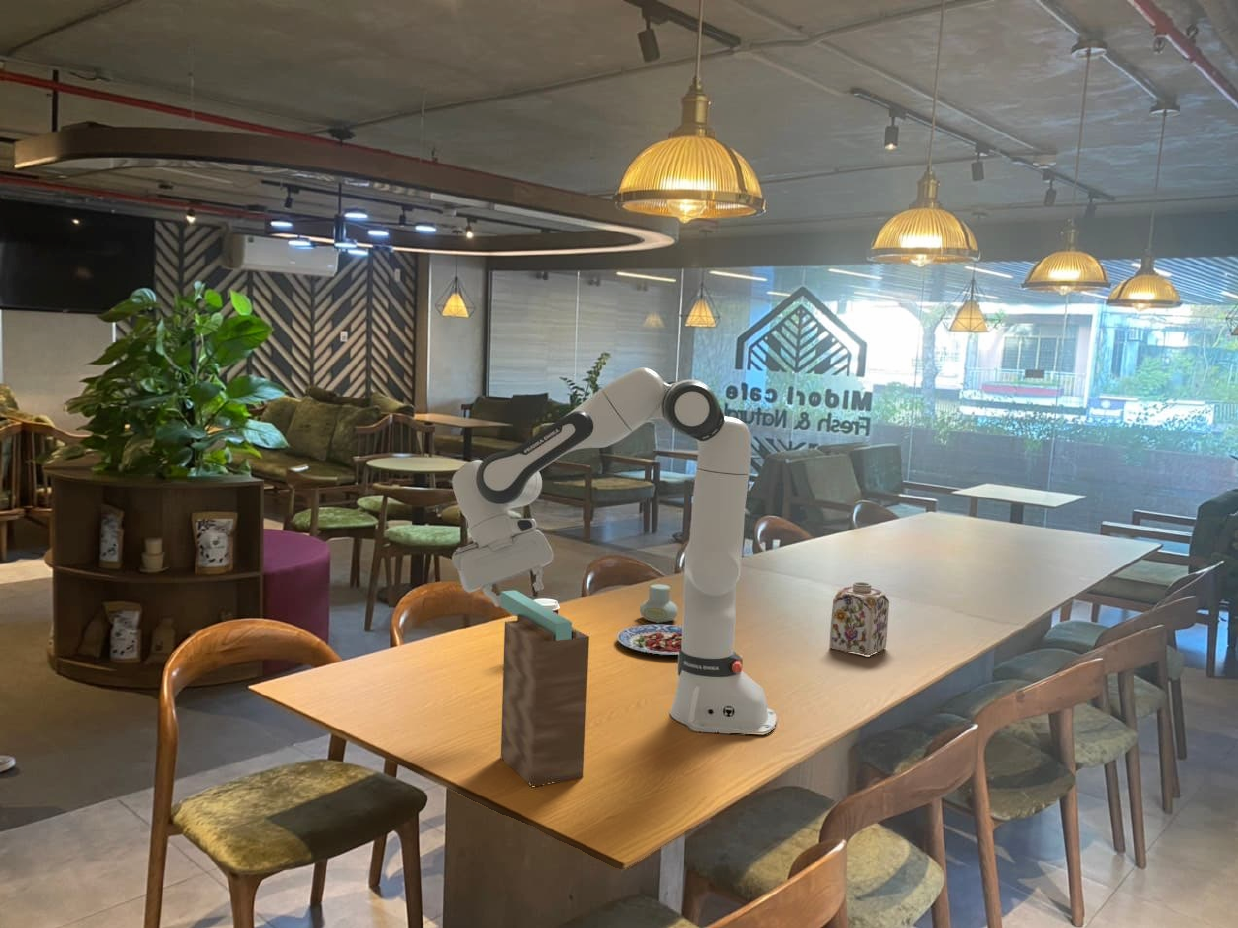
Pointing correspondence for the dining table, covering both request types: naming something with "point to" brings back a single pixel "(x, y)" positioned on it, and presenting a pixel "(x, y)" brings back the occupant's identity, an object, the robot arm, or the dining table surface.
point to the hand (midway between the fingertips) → (520, 597)
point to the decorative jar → (859, 620)
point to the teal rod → (537, 614)
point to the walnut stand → (543, 702)
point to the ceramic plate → (653, 639)
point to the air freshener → (659, 605)
